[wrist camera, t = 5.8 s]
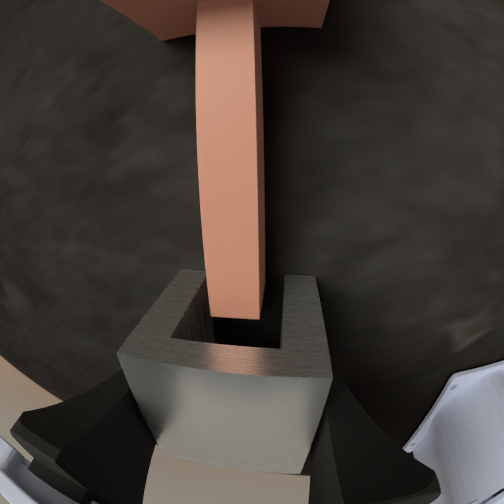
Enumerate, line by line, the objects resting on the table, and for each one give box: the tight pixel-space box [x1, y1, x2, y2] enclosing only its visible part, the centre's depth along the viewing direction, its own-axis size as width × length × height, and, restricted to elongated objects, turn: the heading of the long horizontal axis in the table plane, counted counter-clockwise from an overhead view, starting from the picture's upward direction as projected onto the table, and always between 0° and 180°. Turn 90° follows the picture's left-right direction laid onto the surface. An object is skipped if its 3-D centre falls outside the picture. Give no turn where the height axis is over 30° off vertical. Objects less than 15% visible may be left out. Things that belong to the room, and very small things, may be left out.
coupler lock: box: [117, 269, 333, 474], centre depth 9 cm, size 6×5×5 cm
